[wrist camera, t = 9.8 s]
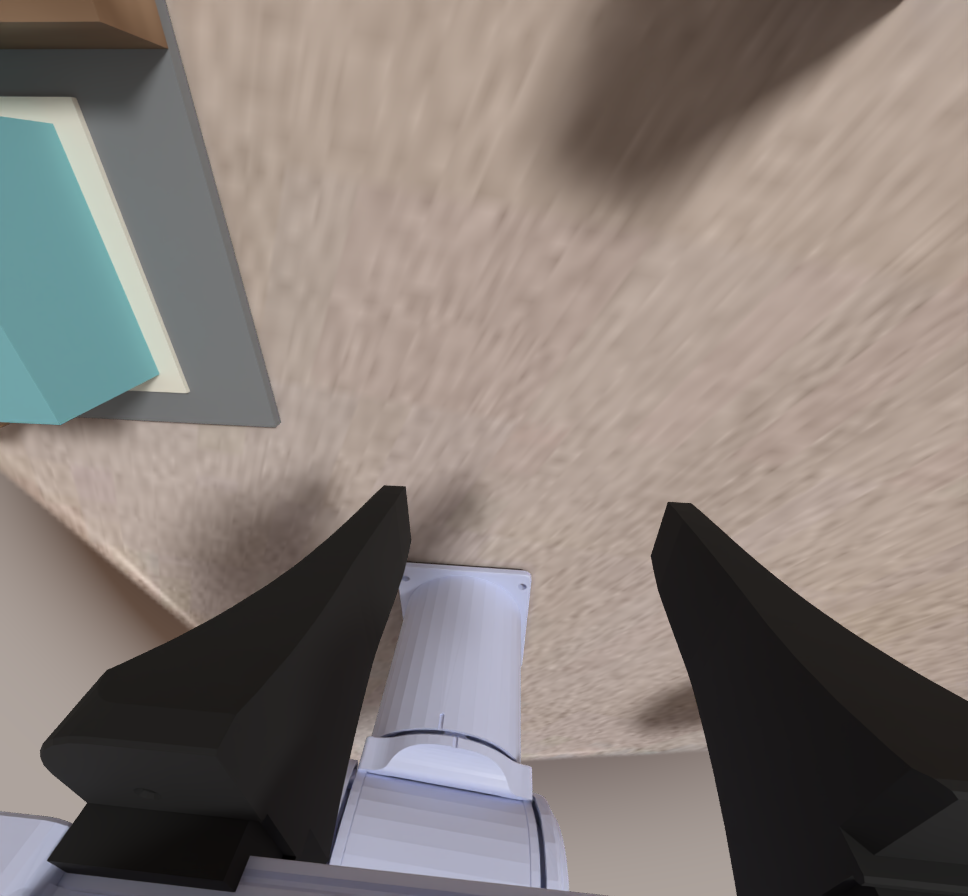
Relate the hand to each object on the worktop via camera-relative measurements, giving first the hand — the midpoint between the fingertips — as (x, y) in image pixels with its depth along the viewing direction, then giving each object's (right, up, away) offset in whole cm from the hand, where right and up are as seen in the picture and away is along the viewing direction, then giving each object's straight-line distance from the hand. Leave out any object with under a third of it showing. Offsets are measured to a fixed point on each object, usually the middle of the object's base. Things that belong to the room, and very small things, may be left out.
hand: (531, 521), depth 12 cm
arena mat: (-18, +10, +5) cm, 22 cm away
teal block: (-18, +9, +5) cm, 21 cm away
